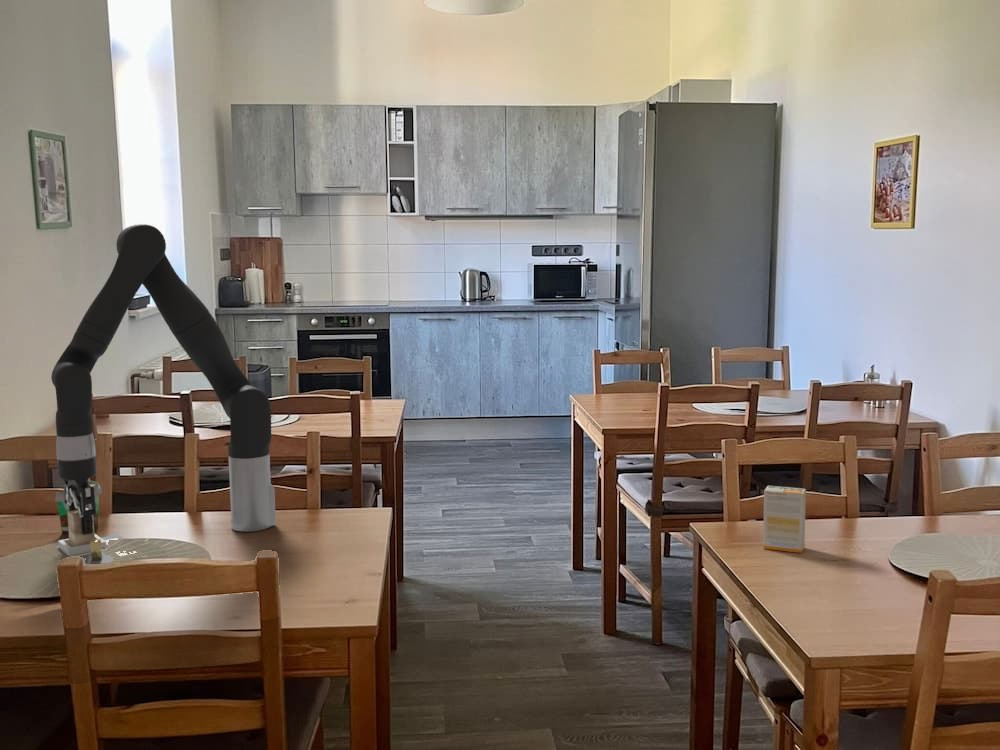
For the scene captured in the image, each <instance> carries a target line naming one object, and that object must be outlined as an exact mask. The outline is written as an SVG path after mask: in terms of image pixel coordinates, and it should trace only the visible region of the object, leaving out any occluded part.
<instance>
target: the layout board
mask: <svg viewBox="0 0 1000 750" xmlns="http://www.w3.org/2000/svg"><path fill="white" fill-rule="evenodd" d="M94 535H95V539H100V540H101V549H105V548H106V545H109V544H108V542H109V540H118V539H125V538H124V537H123V536H121V535H119V534H114V535H108V536H102V537H100V536H99V535H97V534H96V533H94ZM57 542H58V545H56V546H55V548H57V549H58V550H59V551H60V552H61V553H63V554H64V555H65V556H66V557H67V558H68V557H71V556H80V557H83V558H84V559H85V558H86V560H85V563H86V564H101V563H109V562H112V561H114V560H113V558H114V557H111V556H110V555H105V553H103V552H102V560H99V561H92V560H91V545H90V544H86V545H81V546H76V547H70V544H69V538H66V539H59V540H57ZM106 550H107V549H106ZM106 550H102V551H106ZM123 552H124V553H120V551H118V552H115V553H116V554H117V555H118V556H120V557H122V556H126V555H128V554H127V553H125V552H126V551H123ZM119 553H120V554H119ZM129 553H130V554H135V553H137V552H136V551H133V553H131V552H129ZM130 554H129V555H130ZM146 555H147V554H146ZM146 555H145V556H142V555H141V556H142V557H144V558H148V557H149V555H148V556H146ZM138 558H139V557H138ZM129 559H132V558H129Z"/></svg>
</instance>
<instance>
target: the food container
mask: <svg viewBox="0 0 1000 750" xmlns="http://www.w3.org/2000/svg"><path fill="white" fill-rule="evenodd" d="M88 485H90V486H91V487H92V486H93V487H94V496H95V508H96V514H95V515H93V519H94V530H95V529H97V528H98V527H99V504H100V503H99V500H100V499H99V497H100V495H101V494H102V492H103V491H102V488H101V485H100V484H99V482H98V481H94V480H88ZM55 502H57V509H58V515H59V521H60V522H59V523H60V529H61V534H63V535H69V529H68V514H67V511H69V509H70V508H67V504H65V502H64V491H62V492H60V491H57V492H55ZM85 508H88V507H85Z"/></svg>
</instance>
